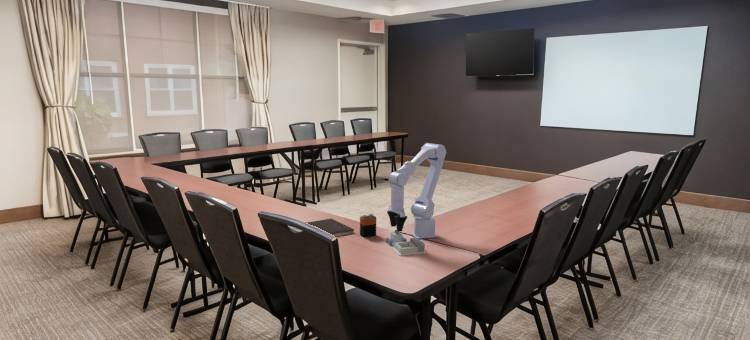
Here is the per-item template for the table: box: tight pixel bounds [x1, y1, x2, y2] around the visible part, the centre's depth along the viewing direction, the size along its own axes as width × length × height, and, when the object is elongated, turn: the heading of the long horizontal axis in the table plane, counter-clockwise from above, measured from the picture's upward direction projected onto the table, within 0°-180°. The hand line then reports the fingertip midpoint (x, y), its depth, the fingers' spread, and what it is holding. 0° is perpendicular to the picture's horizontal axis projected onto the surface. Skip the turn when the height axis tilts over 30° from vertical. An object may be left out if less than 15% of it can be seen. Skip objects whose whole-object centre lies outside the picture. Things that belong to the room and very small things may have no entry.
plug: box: [390, 229, 403, 246], centre depth 201 cm, size 4×4×6 cm
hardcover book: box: [305, 218, 355, 237], centre depth 220 cm, size 16×23×2 cm
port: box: [391, 237, 428, 257], centre depth 192 cm, size 12×10×4 cm
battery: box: [359, 213, 377, 238], centre depth 211 cm, size 4×7×10 cm, turn 116°
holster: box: [385, 235, 408, 246], centre depth 202 cm, size 8×5×2 cm, turn 108°
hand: (396, 228), depth 201 cm, fingers open, 7 cm apart
